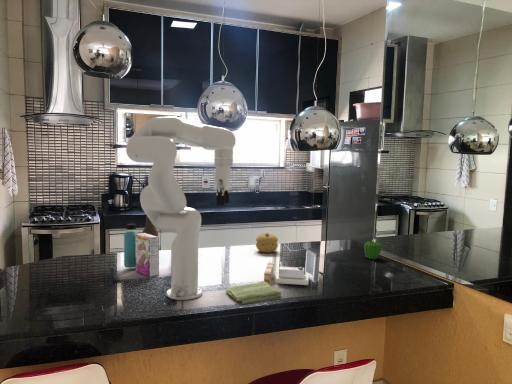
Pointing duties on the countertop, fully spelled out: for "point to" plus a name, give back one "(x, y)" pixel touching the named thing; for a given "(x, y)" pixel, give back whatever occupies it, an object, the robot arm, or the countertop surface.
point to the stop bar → (291, 272)
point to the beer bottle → (150, 228)
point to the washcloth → (253, 292)
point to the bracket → (292, 280)
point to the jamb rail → (268, 273)
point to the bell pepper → (372, 250)
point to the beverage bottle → (130, 247)
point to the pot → (266, 243)
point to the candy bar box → (147, 254)
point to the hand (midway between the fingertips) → (222, 204)
